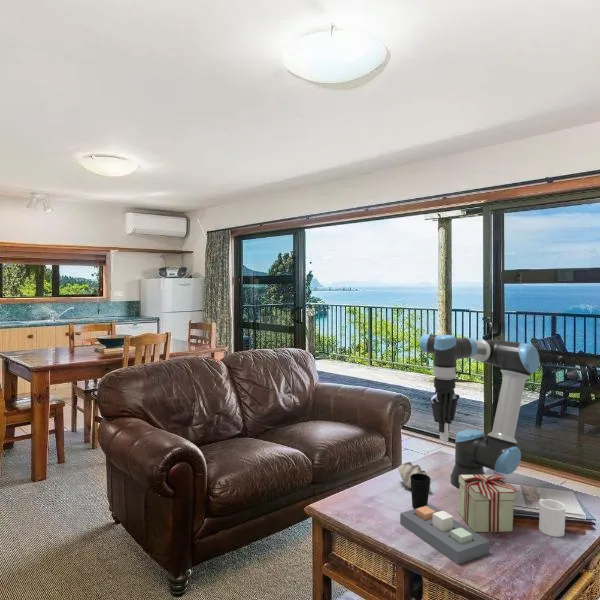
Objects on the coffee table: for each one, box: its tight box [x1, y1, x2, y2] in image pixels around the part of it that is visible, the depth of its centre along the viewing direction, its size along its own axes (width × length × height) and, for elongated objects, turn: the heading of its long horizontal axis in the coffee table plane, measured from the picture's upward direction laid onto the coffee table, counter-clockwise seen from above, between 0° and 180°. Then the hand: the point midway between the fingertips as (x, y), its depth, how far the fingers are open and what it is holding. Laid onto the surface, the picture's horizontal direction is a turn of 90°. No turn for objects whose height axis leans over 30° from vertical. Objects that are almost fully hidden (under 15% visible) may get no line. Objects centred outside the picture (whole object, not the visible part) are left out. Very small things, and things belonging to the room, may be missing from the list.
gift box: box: [457, 473, 521, 533], centre depth 177 cm, size 17×18×17 cm
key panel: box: [399, 504, 491, 565], centre depth 167 cm, size 14×28×4 cm, turn 28°
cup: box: [410, 473, 431, 509], centre depth 189 cm, size 8×8×12 cm
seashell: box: [397, 461, 432, 493], centre depth 206 cm, size 10×15×10 cm
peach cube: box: [416, 506, 435, 521], centre depth 175 cm, size 5×5×5 cm
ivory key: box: [432, 510, 454, 532], centre depth 167 cm, size 5×5×5 cm
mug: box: [537, 498, 566, 538], centre depth 174 cm, size 8×12×10 cm, turn 7°
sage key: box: [450, 528, 472, 545], centre depth 160 cm, size 5×5×5 cm
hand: (444, 440), depth 178 cm, fingers closed
